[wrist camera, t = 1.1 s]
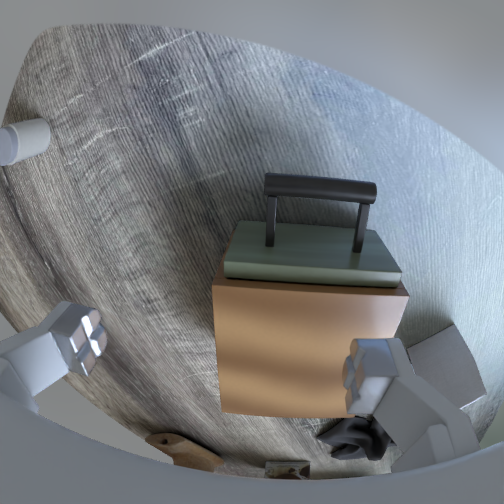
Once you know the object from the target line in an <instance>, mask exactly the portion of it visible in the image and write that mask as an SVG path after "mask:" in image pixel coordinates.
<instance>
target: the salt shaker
mask: <svg viewBox="0 0 504 504" xmlns="http://www.w3.org/2000/svg"><path fill="white" fill-rule="evenodd" d="M50 138H51V132H50V127H49V125H48V123H47V121H46V120H45V119H43V118H34V119H29V120H25V121H20V122H15V123H11V124H7V125H5V126H4V127H3V128H0V165H2V166H4V165H12V164H15V163H18V162H20V161H23V160H26V159H28V158H31V157H34V156H37V155H40V154H42V153H44V152H45V151H46V150H47V148H48V146H49V143H50Z"/></svg>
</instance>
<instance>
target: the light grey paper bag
mask: <svg viewBox="0 0 504 504" xmlns="http://www.w3.org/2000/svg"><path fill="white" fill-rule="evenodd" d="M407 351H408V354H409V357H410V360H411V363H412V366H413V369H414V372H415V374H416V376H420V377H422V378H423V379H424V380H425V381H426V382H428V383H429V384H430V385H431V386H433V387H434V388H435V389H436V390H437V391H439V392H440V393H441V394H442V395H444V396H445V397H446V398H447V399H448V400H450V401H451V402H452V403H453V404H455V405H456V406H457V407H458V408H459V409H462V408H464V407H466V406H467V405H469V404H471V403H473V402H475V401H476V400H478V399H480V398H482V397H483V396H485V395H487V394H486V393H487V392H486V390H485V387H484V384H483V382H482V379H481V376H480V373H479V370H478V368H477V365H476V362H475V360H474V357H473V356H472V354H471V352H470V350H469V348H468V346H467V345H466V343H465V341H464V339H463V337H462V336H461V334H460V332H459V330H458V329H457V327H456V325H455V324H453V325H452V326H450V327H448V328H446V329H444V330H443V331H441V332H439V333H437V334H435V335H433V336H431V337H429V338H427V339H426V340H424V341H422V342H420V343H418V344H416V345H414V346H412V347H409V348H407Z"/></svg>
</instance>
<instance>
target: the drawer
mask: <svg viewBox="0 0 504 504" xmlns="http://www.w3.org/2000/svg"><path fill="white" fill-rule="evenodd" d="M264 194H265V195H268V198H267V219H266V222H256V221H238V224H237V227H236V229H235V232H234V235H233V237H232V240H231V243H230V245H229V248H228V251H227V253H226V256H225V259H224V277H229V278H239V280H244V281H258V282H272V283H287V284H303V285H320V286H338V287H359V288H376V286H377V287H398V285H399V281H400V278H401V275H402V271H401V270H400V268H399V266H398V265H397V263H396V262H395V260H394V258H393V257H392V255H391V254H390V252H389V251H388V249H387V248H386V246H385V245H384V243H383V242H382V240H381V239H380V237H379V236H378V234H377V233H376V231H375V230H366V226H367V220H368V214H369V208H370V204H374V202H375V200H376V195H377V188H376V184H375V183H373V182H365V181H357V180H348V179H339V178H329V177H318V176H306V175H293V174H278V173H266V174H265V185H264ZM277 196H287V197H301V198H313V199H325V200H336V201H347V202H357V203H359V209H358V216H357V222H356V228H355V229H353V228H341V227H328V226H315V225H302V224H288V223H276V210H277Z"/></svg>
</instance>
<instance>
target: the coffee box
mask: <svg viewBox="0 0 504 504" xmlns="http://www.w3.org/2000/svg"><path fill="white" fill-rule="evenodd" d="M264 478H266V479H285V480H310V462H270V461H266V467H265V477H264Z"/></svg>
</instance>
